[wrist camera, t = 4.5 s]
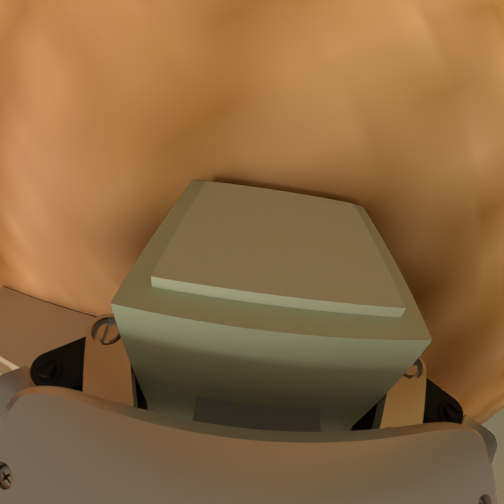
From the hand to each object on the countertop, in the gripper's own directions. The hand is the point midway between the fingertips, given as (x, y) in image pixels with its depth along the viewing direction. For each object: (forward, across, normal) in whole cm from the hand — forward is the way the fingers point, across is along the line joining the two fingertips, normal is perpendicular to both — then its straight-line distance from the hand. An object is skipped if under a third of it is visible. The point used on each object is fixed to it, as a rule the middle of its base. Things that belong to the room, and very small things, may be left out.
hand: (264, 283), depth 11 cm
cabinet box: (+1, 0, 0) cm, 1 cm away
